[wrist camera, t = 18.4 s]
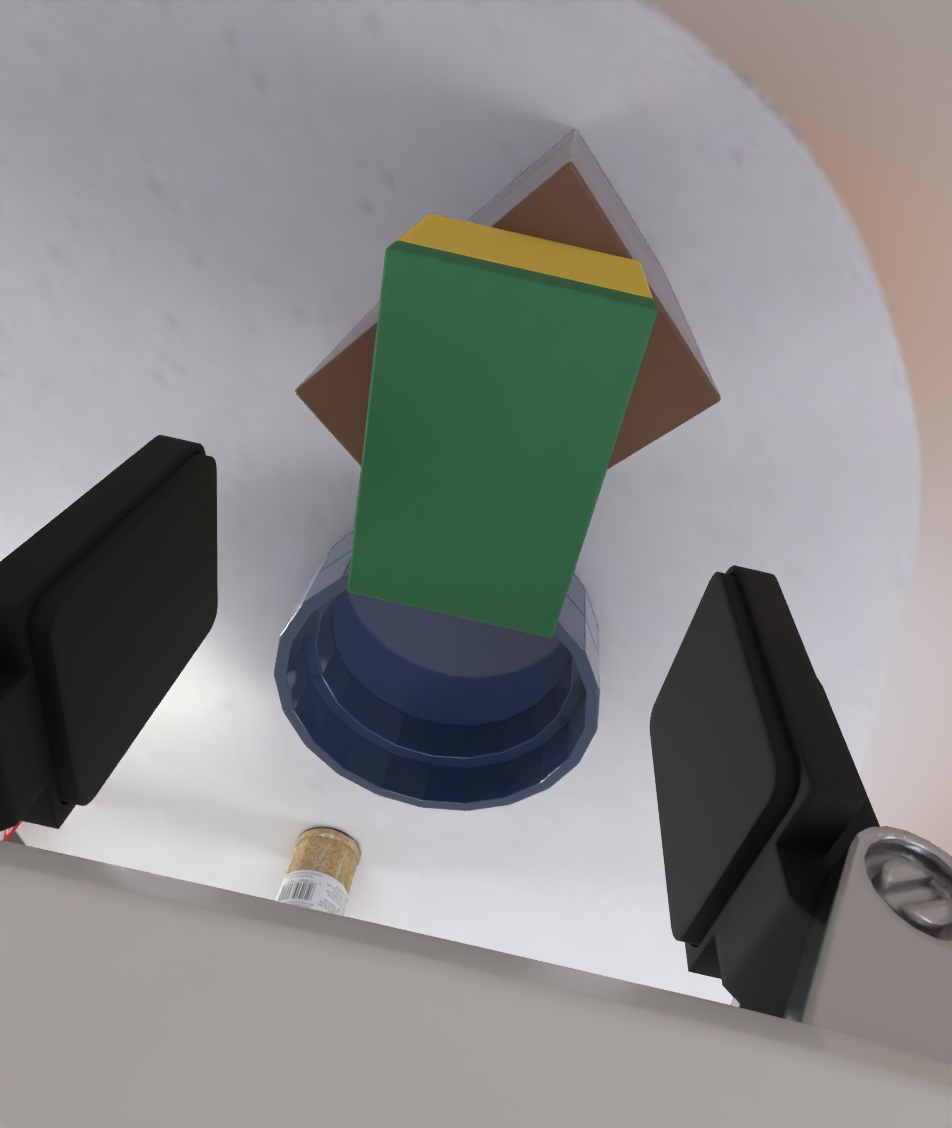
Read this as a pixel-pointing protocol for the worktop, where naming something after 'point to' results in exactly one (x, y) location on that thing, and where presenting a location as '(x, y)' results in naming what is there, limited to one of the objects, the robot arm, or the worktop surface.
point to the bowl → (436, 694)
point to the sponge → (492, 418)
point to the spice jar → (321, 871)
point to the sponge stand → (574, 217)
